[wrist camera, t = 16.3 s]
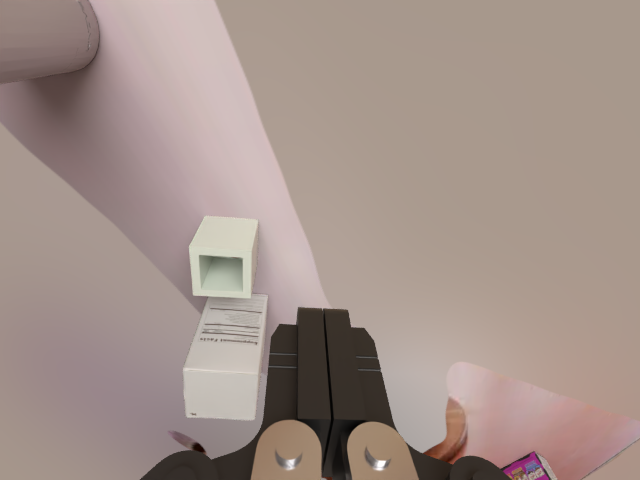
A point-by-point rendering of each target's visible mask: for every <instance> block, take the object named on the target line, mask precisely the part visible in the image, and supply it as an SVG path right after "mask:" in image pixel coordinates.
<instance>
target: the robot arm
mask: <svg viewBox="0 0 640 480" xmlns="http://www.w3.org/2000/svg"><path fill="white" fill-rule="evenodd" d="M98 44H99V27H98V23H97V20H96V16H95V14H94V11H93V9H92V7H91V5H90V3H89V2H88V0H0V84H5V83H10V82H16V81H22V80H27V79H33V78H39V77H44V76H51V75H56V74H62V73H68V72H73V71H77V70H79V69H82V68H84V67H85V66H86V65H88V64H89V63H90V62H91V61H92V59H93V58H94V57H95V54H96V52H97V49H98ZM380 369H381V368H380V364H379V360H378V357H377V351H376V347H375V343H374V340H373V339H372V338H371V336H370V335H369V334H368V332H367V331H366V330H365V328H354V327H351V324H350V318H349V313H348V310H343V309H323V311H322V309H321V308H302V307H298V312H297V322H296V325H289V324H279V326H278V327H277V329H276V330H275V332H274V333H273V335H272V336H271V345H270V355H269V366H268V376H267V386H266V397H265V407H264V418H263V423H262V425H261V428H260V430H259V432H258V434H257V435H256V436H255V438H254V439H253V440H252V441H251V442H250V443H249V444H248V445H246V446H245V447H243V448H242V449H240V450H238V451H236V452H233V453H230V454H227V455H224V456H221V457H218V458H215V459H212V460H211V459H210V458H209V457H208V456H206V455H205V454H203V453H201V452H198V451H191V450H188V451H181V452H177V453H174V454H172V455H170V456H168V457H166V458H165V459H163V460H162V461H161V462H159V463H158V464H157V465H156V466H155V467H153V468H152V469H151V470H150V471H149V472H148V473H147V474H146V475H145V476H143V478H141V479H140V480H321V472H322V477H333V480H512V479H511V478H510V477H509V476H508V475H506V474H505V473H504V472H503V471H502V470H501V469H499V468H498V467H497V466H496V465H494V464H493V463H491V462H490V461H488V460H485V459H483V458H480V457H477V456H465V457H461V458H460V459H458V460H457V461H456V462H455V463H454V464H453V465H452V464H450V463H447V462H444V461H441V460H438V459H436V458H433V457H430V456H427V455H425V454H422V453H420V452H418V451H417V450H415V449H413V448H412V447H411V446H409V445H408V444H407V443H406V442H405V441H404V439H403V438H402V437H401V435H400V434H399V433H398V431H397V430H396V428H395V425H394V422H393V419H392V415H391V410H390V407H389V402H388V398H387V393H386V390H385V385H384V381H383V377H382V373H381V370H380Z"/></svg>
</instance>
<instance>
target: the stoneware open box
mask: <svg viewBox="0 0 640 480" xmlns="http://www.w3.org/2000/svg"><path fill="white" fill-rule="evenodd" d="M258 225H259V220H257V219H244V218H230V217H217V216H205V217H204V219H203V221H202V223H201V225H200V226H199V228H198V230H197V232H196V234H195V236H194V238H193V240H192V242H191V244H190V246H189V253H190V265H191V276H192V288H193V295H194V296H213V297H231V298H250V299H251V295H252V290H253V285H254V279H255V274H256V269H257V263H258ZM232 257H239V258H237V259H236V258H232Z"/></svg>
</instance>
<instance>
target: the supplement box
mask: <svg viewBox="0 0 640 480" xmlns="http://www.w3.org/2000/svg"><path fill="white" fill-rule="evenodd" d="M267 306H268V295H265V294H252V295H251V299H250V298H231V297H213V296H208V298H207V301H206V304H205V307H204V309H203V312H202V315H201V318H200V321H199V324H198V326H197V329H196V332H195V335H194V338H193V341H192V343H191V346H190V349H189V352H188V355H187V357H186V360H185V364H184V366H183V370H182V372H183V387H184V393H183V394H184V401H185V415H186V417H188V418H218V419H233V420H234V419H235V420H254V419H255V415H256V408H257V402H258V394H259V386H260V378H261V370H262V361H263V353H264V343H265V332H266V319H267Z"/></svg>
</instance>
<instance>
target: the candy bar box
mask: <svg viewBox="0 0 640 480" xmlns="http://www.w3.org/2000/svg"><path fill="white" fill-rule="evenodd" d="M501 470H502V471H503V472H504V473H505V474H506V475H508V476H509V477H510V478H511V479H512V480H557V478H556V476H555V475H554V473H553V471H552V469H551V468H550V466H549V464H548V463H547V461H546V459H545V458H544V457H542V456H540V455H539V454H537V453H536V452H532V453H530V454H529V455H527V456H525V457H523V458H521V459H519V460H517V461H515V462H514V463H512V464H510V465H508V466H506V467H504V468H503V469H501Z"/></svg>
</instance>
